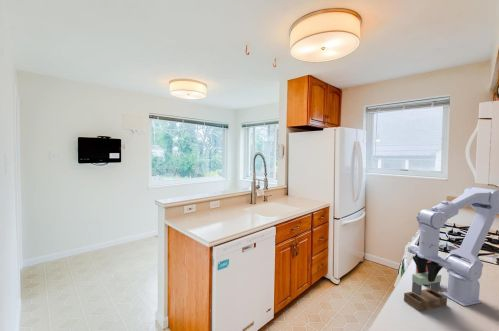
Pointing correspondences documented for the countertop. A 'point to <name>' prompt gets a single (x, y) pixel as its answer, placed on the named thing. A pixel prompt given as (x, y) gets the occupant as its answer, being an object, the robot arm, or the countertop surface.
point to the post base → (425, 299)
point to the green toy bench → (424, 282)
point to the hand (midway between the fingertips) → (426, 278)
